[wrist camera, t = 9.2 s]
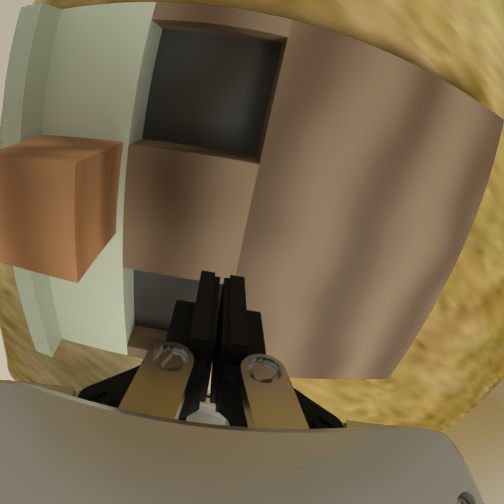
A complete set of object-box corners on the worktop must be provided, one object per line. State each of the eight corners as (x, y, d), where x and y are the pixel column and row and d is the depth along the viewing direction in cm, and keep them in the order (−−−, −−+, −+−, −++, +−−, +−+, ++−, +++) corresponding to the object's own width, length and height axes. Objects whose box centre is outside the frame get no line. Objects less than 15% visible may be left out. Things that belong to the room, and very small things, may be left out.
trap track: (480, 114, 15) (503, 119, 13) (379, 358, 25) (388, 378, 23) (167, 14, 12) (156, 2, 10) (135, 332, 22) (127, 355, 20)
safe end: (167, 14, 12) (145, -11, 8) (135, 332, 22) (121, 375, 18) (62, 20, 11) (21, 7, 7) (59, 314, 21) (36, 351, 17)
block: (123, 142, 13) (75, 163, 9) (115, 233, 16) (77, 283, 11) (43, 135, 13) (-16, 155, 8) (43, 219, 15) (-6, 260, 10)
